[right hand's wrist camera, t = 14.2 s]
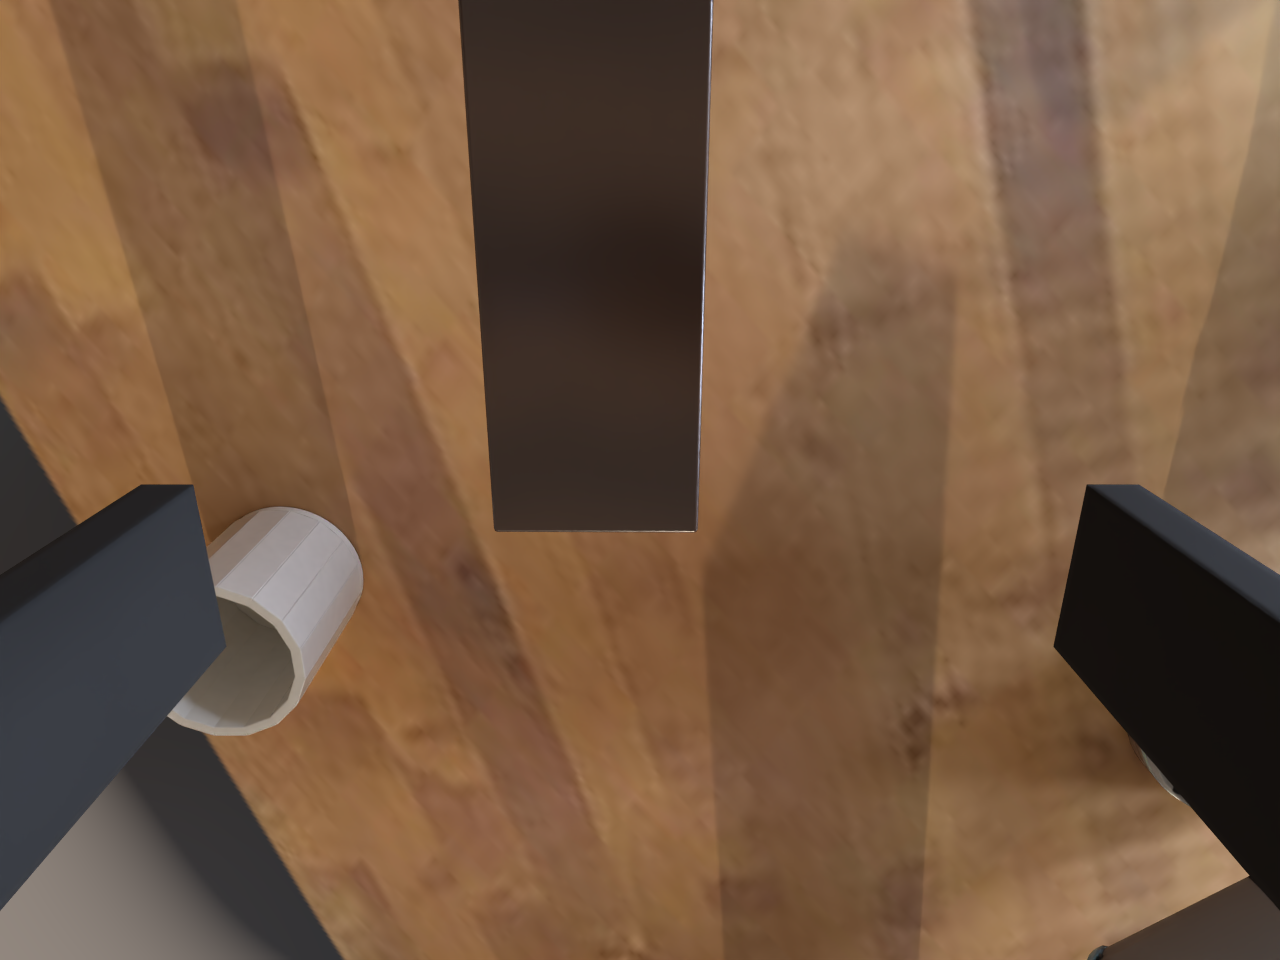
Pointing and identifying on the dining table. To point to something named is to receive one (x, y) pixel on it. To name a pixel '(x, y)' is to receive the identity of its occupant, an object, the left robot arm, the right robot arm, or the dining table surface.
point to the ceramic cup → (272, 618)
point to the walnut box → (590, 256)
